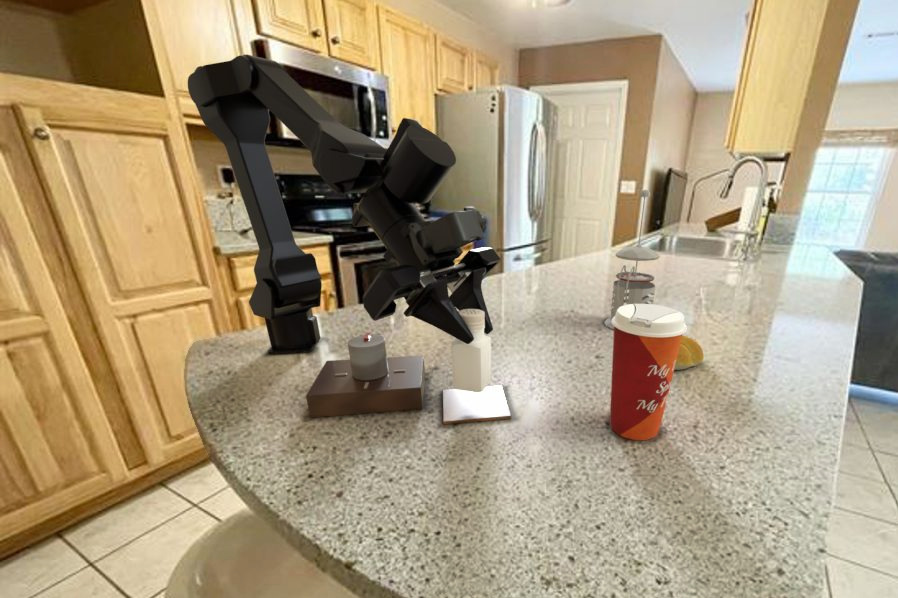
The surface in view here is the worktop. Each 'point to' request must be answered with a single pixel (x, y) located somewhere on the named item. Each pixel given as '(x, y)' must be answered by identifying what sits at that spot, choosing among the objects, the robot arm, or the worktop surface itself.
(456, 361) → the pepper shaker
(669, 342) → the paper cup
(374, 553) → the worktop surface
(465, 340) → the robot arm
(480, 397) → the coaster
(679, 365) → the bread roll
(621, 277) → the french press
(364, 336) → the knob
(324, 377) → the panel
